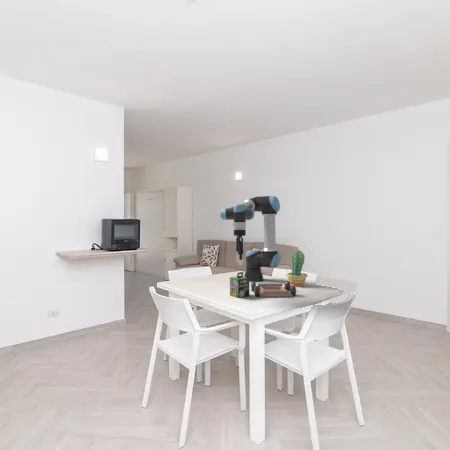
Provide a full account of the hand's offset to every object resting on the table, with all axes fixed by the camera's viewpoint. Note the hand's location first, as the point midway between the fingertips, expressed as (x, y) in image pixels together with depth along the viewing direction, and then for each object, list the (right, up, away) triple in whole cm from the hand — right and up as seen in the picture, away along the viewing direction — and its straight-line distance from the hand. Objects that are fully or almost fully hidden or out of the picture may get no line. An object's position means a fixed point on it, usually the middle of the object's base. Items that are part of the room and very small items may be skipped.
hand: (239, 263), depth 198 cm
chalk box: (0, -20, +1) cm, 20 cm away
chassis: (+22, -20, +8) cm, 30 cm away
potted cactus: (+43, -20, +31) cm, 56 cm away
